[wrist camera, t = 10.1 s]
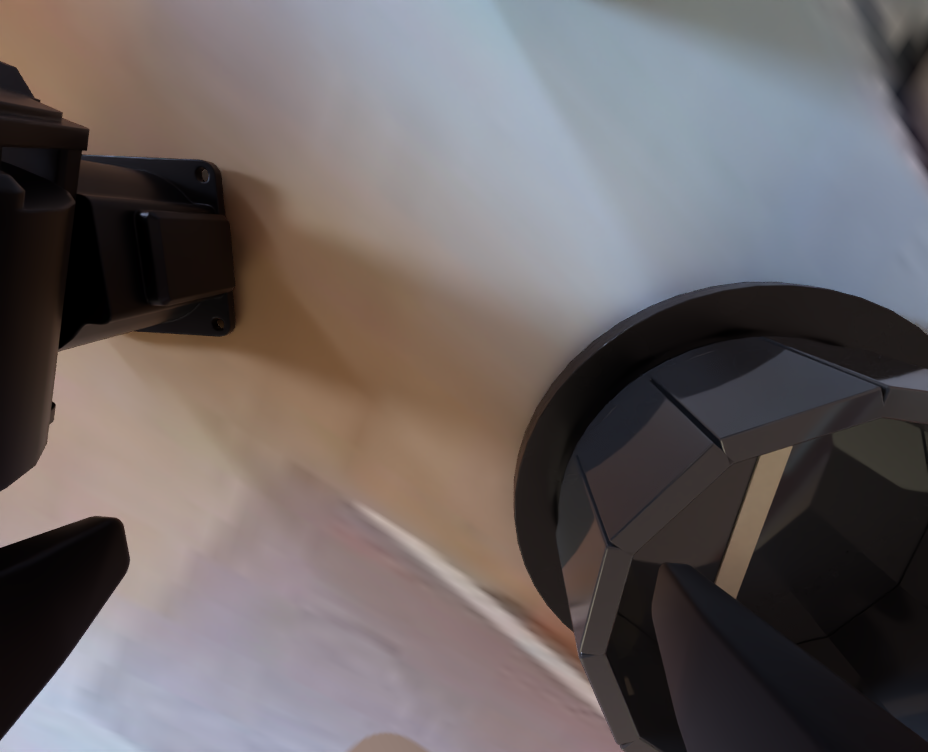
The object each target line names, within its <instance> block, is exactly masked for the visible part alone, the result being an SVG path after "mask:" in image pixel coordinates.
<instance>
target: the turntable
mask: <svg viewBox="0 0 928 752" xmlns="http://www.w3.org/2000/svg"><path fill="white" fill-rule="evenodd" d="M760 336H780V337H793V338H803V339H808V340H812V341H817V342H822V343H827V344H830V345H833V346H839V347H846V348H853V349H860V350H868V351H871V352H874V353H877V354H880V355H884V356H887V357H890V358H893V359H896V360H899V361H902V362H906V363H909V364H912V365H915V366H918V367H921V368H924V369H927V370H928V335H927V334H925V333H924V332H923V331H922V330H921V329H920V328H919V327H917V326H916V325H914V324H912V323H911V322H909V321H908V320H906V319H904V318H903V317H901V316H900V315H898V314H896V313H895V312H893V311H891V310H889V309H887V308H885V307H882V306H880V305H877V304H875V303H873V302H870V301H868V300H866V299H863V298H861V297H857V296H853V295H849V294H845V293H842V292H838V291H834V290H830V289H825V288H819V287H814V286H807V285H799V284H790V283H782V282H742V283H734V284H727V285H720V286H712V287H708V288H704V289H700V290H696V291H693V292H689V293H685V294H681V295H678V296H675V297H673V298H670V299H668V300H665V301H663V302H660V303H658V304H655V305H653V306H650V307H648V308H646V309H644V310H642V311H640V312H638V313H637V314H635V315H633V316H631V317H629V318H627V319H626V320H624V321H622V322H620V323H618V324H617V325H616V326H614V327H613V328H611V329H610V330H609V331H607V332H606V333H604V334H603V335H602V336H600V337H599V338H597V339H596V340H594V341H593V342H592V343H591V344H590V345H589V346H588V347H587V348H586V349H584V350H583V351H582V352H581V353H580V354H579V355H578V356H577V357H576V358H575V359H573V360H572V361H571V362H570V364H569V365H568V366H567V367H566V368H565V369H564V371H563V372H562V373H561V374H560V375H559V376H558V378H557V379H556V380H555V381H554V382H553V383H552V385H551V386H550V388H549V390H548V391H547V393H546V394H545V396H544V397H543V399H542V400H541V402H540V403H539V405H538V406H537V408H536V410H535V412H534V415H533V417H532V419H531V421H530V423H529V425H528V427H527V429H526V431H525V435H524V438H523V441H522V444H521V447H520V451H519V454H518V458H517V464H516V470H515V476H514V518H515V525H516V533H517V540H518V544H519V548H520V551H521V555H522V558H523V561H524V565H525V567H526V569H527V571H528V573H529V575H530V578H531V580H532V582H533V584H534V586H535V587H536V589H537V590H538V592H539V594H540V595H541V597H542V598H543V600H544V601H545V603H546V604H547V606H548V607H549V608H550V609H551V610H552V611H553V612H554V613H555V615H556V616H557V617H558V618H559V619H560V620H561V621H562V623H564V624H565V625H566V626H567V627H568V628H569V629H570V630H572V631H573V632H574V630H573V625H572V620H571V614H570V609H569V604H568V599H567V594H566V589H565V584H564V579H563V574H562V568H561V563H560V558H559V553H558V548H557V543H556V535H555V534H556V530H557V525H558V521H559V517H558V505H559V498H560V491H561V485H562V481H563V478H564V474H565V471H566V468H567V465H568V462H569V460H570V458H571V456H572V454H573V451H574V449H575V447H576V445H577V443H578V442H579V440H580V438H581V437H582V435H583V434H584V432H585V431H586V429H587V427H588V426H589V424H590V423H591V422H592V421H593V420H594V418H595V417H596V416H597V415H598V414H599V412H600V411H601V410H602V409H603V408H604V406H605V405H606V404H608V403H609V402H610V401H611V400H612V399H613V398H614V397H615V396H616V395H617V394H618V393H619V392H620V391H621V390H622V389H624V388H625V387H626V386H628V385H629V384H630V383H632V382H633V381H635V380H636V379H637V378H639V377H640V376H641V375H643V374H644V373H646V372H648V371H649V370H651V369H653V368H655V367H657V366H658V365H660V364H662V363H664V362H665V361H667V360H669V359H672V358H674V357H677V356H679V355H681V354H684V353H686V352H688V351H691V350H693V349H697V348H700V347H704V346H707V345H711V344H714V343H717V342H722V341H728V340H734V339H740V338H746V337H760Z"/></svg>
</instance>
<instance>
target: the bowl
mask: <svg viewBox="0 0 928 752" xmlns="http://www.w3.org/2000/svg"><path fill="white" fill-rule="evenodd" d="M558 517H559V521H558V525H557V530H556V534H555V535H556V543H557V548H558V553H559V558H560V563H561V568H562V574H563V579H564V584H565V589H566V594H567V599H568V604H569V609H570V614H571V620H572V625H573V630H574V635H575V640H576V645H577V650H578V655H579V659H580V661H581V663H582V666H583V668H584V670H585V673H586V675H587V677H588V680H589V682H590V684H591V687H592V689H593V691H594V693H595V696H596V698H597V700H598V703H599V705H600V707H601V710H602V712H603V714H604V717H605V719H606V721H607V724H608V726H609V728H610V730H611V733H612V735H613V737H614V740H615V742H616V743H617V744H618V745H620V747H621V749H622V750H623V751H624V752H687V749H686V746H685V743H684V740H683V737H682V734H681V731H680V728H679V725H678V722H677V718H676V714H675V710H674V707H673V703H672V698H671V694H670V690H669V686H668V682H667V678H666V673H665V669H664V665H663V661H662V657H661V653H660V648H659V644H658V640H657V636H656V632H655V628H654V623H653V619H652V600H653V595H654V591H655V586H656V581H657V576H658V571H659V568H660V566H661V565H662V564H663V563H665V562H669V563H681V564H688V565H690V566H692V567H693V568H695V569H696V570H697V571H699V572H700V573H701V574H703V575H704V576H705V577H707V578H708V579H709V580H711V581H712V582H713V583H715V584H716V585H717V586H719V587H720V588H721V589H723V590H724V591H725V592H727V593H728V594H729V595H731V596H732V597H734V598H735V599H736V600H738V601H739V602H740V603H742V604H743V605H744V606H746V607H747V608H748V609H750V610H751V611H752V612H754V613H755V614H756V615H758V616H759V617H760V618H762V619H763V620H764V621H766V622H767V623H768V624H770V625H771V626H773V627H774V628H775V629H777V630H778V631H779V632H781V633H782V634H783V635H785V636H786V637H787V638H789V639H790V640H791V641H793V642H794V643H795V644H797V645H798V646H799V647H801V648H802V649H803V650H805V651H806V652H807V653H809V654H810V655H812V656H813V657H814V658H816V659H817V660H818V661H820V662H821V663H822V664H824V665H825V666H826V667H828V668H829V669H830V670H832V671H833V672H834V673H836V674H837V675H838V676H840V677H841V678H842V679H844V680H845V681H846V682H848V683H849V684H850V685H852V686H853V687H855V688H856V689H857V690H859V691H860V692H861V693H863V694H864V695H865V696H867V697H868V698H869V699H871V700H872V701H873V702H875V703H876V704H877V705H879V706H880V707H881V708H883V709H884V710H885V711H887V712H888V713H889V714H891V715H892V716H894V717H895V718H896V719H898V720H899V721H900V722H902V723H903V724H904V725H906V726H907V727H908V728H910V729H911V730H912V731H914V732H915V733H916V734H918V735H919V736H920V737H922V738H923V739H924V740H926V741H927V742H928V370H927V369H924V368H921V367H918V366H915V365H912V364H909V363H906V362H902V361H899V360H896V359H893V358H890V357H887V356H884V355H880V354H877V353H874V352H871V351H868V350H860V349H853V348H846V347H839V346H833V345H830V344H827V343H822V342H817V341H812V340H808V339H803V338H793V337H780V336H760V337H746V338H740V339H734V340H728V341H722V342H717V343H714V344H711V345H707V346H704V347H700V348H697V349H693V350H691V351H688V352H686V353H684V354H681V355H679V356H677V357H674V358H672V359H669V360H667V361H665V362H664V363H662V364H660V365H658V366H657V367H655V368H653V369H651V370H649V371H648V372H646V373H644V374H643V375H641V376H640V377H639V378H637V379H636V380H635V381H633V382H632V383H630V384H629V385H628V386H626V387H625V388H624V389H622V390H621V391H620V392H619V393H618V394H617V395H616V396H615V397H614V398H613V399H612V400H611V401H610V402H609V403H608V404H606V405H605V406H604V408H603V409H602V410H601V411H600V412H599V414H598V415H597V416H596V417H595V418H594V420H593V421H592V422H591V423H590V424H589V426H588V427H587V429H586V431H585V432H584V434H583V435H582V437H581V438H580V440H579V442H578V443H577V445H576V447H575V449H574V451H573V454H572V456H571V458H570V460H569V462H568V465H567V468H566V471H565V474H564V478H563V481H562V485H561V491H560V498H559V505H558Z"/></svg>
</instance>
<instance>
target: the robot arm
mask: <svg viewBox="0 0 928 752" xmlns="http://www.w3.org/2000/svg"><path fill="white" fill-rule="evenodd" d="M62 114H63V113H62V112H60V111H58V110H56V109H54V108H51V107H49V106H47V105H44V104H42V103H40V100H39V99H36V98H34V96H33V94H32V93H31V91H30V89H29V88H28V86H27V85H26V83H25V81H24V80H23V78H22V76H21V75H20V73H19V71H18V70H17V68H16V67H13V66H11V65H8V64H6V63H4V62H1V61H0V491H2V490H3V489H5V488H7V487H8V486H9V485H11V484H12V483H13V482H15V481H16V480H17V479H18V478H20V477H21V476H22V475H24V474H25V473H26V472H28V471H29V470H30V469H31V468H33V467H34V466H35V465H36V464H37V462H38V460H39V458H40V456H41V454H42V452H43V450H44V448H45V446H46V444H47V439H48V430H49V425H50V424H51V423H52V422H53V420H54V415H55V406H56V405H55V403H54V402H52V397H53V388H54V380H55V372H56V363H57V355H58V352H59V351H62V350H66V349H70V348H73V347H77V346H81V345H84V344H88V343H92V342H95V341H99V340H103V339H106V338H110V337H113V336H117V335H121V334H124V333H128V332H132V331H138V332H154V333H171V334H187V335H203V336H225V335H227V334H230V333H231V332H233V330H234V329H235V312H234V302H233V292H232V289H233V288H234V287H235V277H234V266H233V256H232V245H231V235H230V224H229V221H228V220H227V219H226V218H225V209H224V198H223V188H222V178H221V173H220V170H219V169H218V168H217V166H216V165H214V164H213V163H211V162H207V161H203V160H194V159H171V158H148V157H125V156H102V155H81V154H82V150H85V151H86V150H87V145H88V137H89V129H88V128H86V127H84V126H81V125H79V124H76V123H74V122H71V121H69V120H66V119H64V118H62ZM204 169H206V170H207V171H208V174H209V178H208V180H207V181H206V182H205V181H204V180H203V179H202V171H203V170H204ZM218 318H220V319H221V320H222V321H223V322H224V328H221V327H220V326H219V325H218V323H217V321H218ZM129 563H130V556H129V551H128V546H127V540H126V535H125V530H124V526H123V523H122V522H121V521H120V520H119V519H117V518H113V517H101V516H93V517H89V518H86V519H83V520H80V521H77V522H74V523H71V524H68V525H65V526H63V527H60V528H57V529H54V530H51V531H48V532H45V533H42V534H39V535H36V536H33V537H31V538H28V539H25V540H22V541H19V542H16V543H13V544H10V545H7V546H4V547H2V548H0V741H1V739H2V738H3V737H4V736H5V734H6V733H7V732H8V731H9V730H10V728H11V727H12V726H13V725H14V723H15V722H16V721H17V720H18V719H19V717H20V716H21V715H22V714H23V712H24V711H25V710H26V709H27V707H28V706H29V705H30V704H31V703H32V701H33V700H34V699H35V698H36V696H37V695H38V694H39V693H40V692H41V690H42V689H43V688H44V687H45V685H46V684H47V683H48V682H49V681H50V679H51V678H52V677H53V676H54V674H55V673H56V672H57V670H58V669H59V668H60V667H61V665H62V664H63V663H64V661H65V660H66V659H67V657H68V656H69V655H70V653H71V652H72V650H73V649H74V648H75V646H76V645H77V643H78V642H79V640H80V639H81V638H82V636H83V635H84V633H85V632H86V630H87V629H88V628H89V626H90V625H91V623H92V622H93V620H94V619H95V617H96V616H97V615H98V613H99V612H100V610H101V609H102V607H103V606H104V604H105V603H106V602H107V600H108V599H109V597H110V596H111V594H112V593H113V591H114V590H115V589H116V587H117V586H118V584H119V583H120V581H121V580H122V579H123V577H124V576H125V574H126V572H127V570H128V567H129ZM652 619H653V623H654V628H655V632H656V636H657V640H658V644H659V648H660V653H661V657H662V661H663V665H664V669H665V673H666V678H667V682H668V686H669V690H670V694H671V698H672V703H673V707H674V710H675V714H676V718H677V722H678V725H679V728H680V731H681V734H682V737H683V740H684V743H685V746H686V749H687V752H928V742H927V741H926V740H924V739H923V738H922V737H920V736H919V735H918V734H916V733H915V732H914V731H912V730H911V729H910V728H908V727H907V726H906V725H904V724H903V723H902V722H900V721H899V720H898V719H896V718H895V717H894V716H892V715H891V714H889V713H888V712H887V711H885V710H884V709H883V708H881V707H880V706H879V705H877V704H876V703H875V702H873V701H872V700H871V699H869V698H868V697H867V696H865V695H864V694H863V693H861V692H860V691H859V690H857V689H856V688H855V687H853V686H852V685H850V684H849V683H848V682H846V681H845V680H844V679H842V678H841V677H840V676H838V675H837V674H836V673H834V672H833V671H832V670H830V669H829V668H828V667H826V666H825V665H824V664H822V663H821V662H820V661H818V660H817V659H816V658H814V657H813V656H812V655H810V654H809V653H807V652H806V651H805V650H803V649H802V648H801V647H799V646H798V645H797V644H795V643H794V642H793V641H791V640H790V639H789V638H787V637H786V636H785V635H783V634H782V633H781V632H779V631H778V630H777V629H775V628H774V627H773V626H771V625H770V624H768V623H767V622H766V621H764V620H763V619H762V618H760V617H759V616H758V615H756V614H755V613H754V612H752V611H751V610H750V609H748V608H747V607H746V606H744V605H743V604H742V603H740V602H739V601H738V600H736V599H735V598H734V597H732V596H731V595H729V594H728V593H727V592H725V591H724V590H723V589H721V588H720V587H719V586H717V585H716V584H715V583H713V582H712V581H711V580H709V579H708V578H707V577H705V576H704V575H703V574H701V573H700V572H699V571H697V570H696V569H695V568H693V567H692V566H690V565H688V564H681V563H669V562H665V563H663V564H662V565H661V566H660V568H659V571H658V576H657V581H656V586H655V591H654V595H653V600H652Z"/></svg>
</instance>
